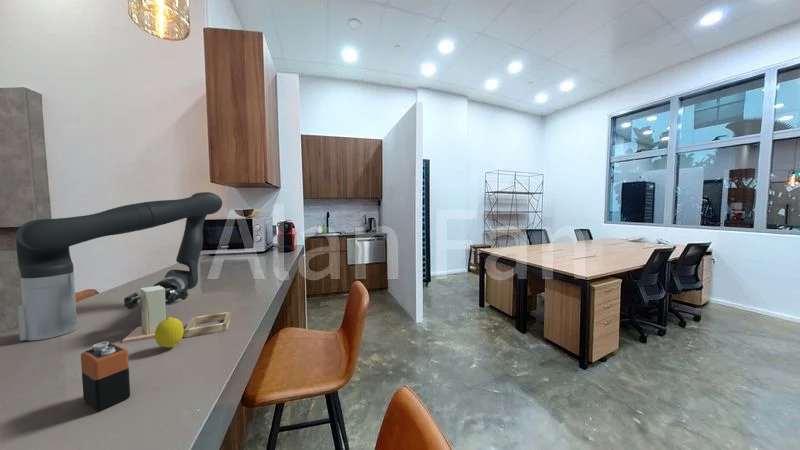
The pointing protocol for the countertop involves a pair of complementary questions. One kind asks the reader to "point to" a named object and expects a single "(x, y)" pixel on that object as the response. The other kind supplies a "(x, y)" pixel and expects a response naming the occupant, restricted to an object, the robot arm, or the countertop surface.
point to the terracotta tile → (138, 335)
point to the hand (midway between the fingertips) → (150, 303)
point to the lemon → (169, 332)
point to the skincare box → (152, 307)
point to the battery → (105, 375)
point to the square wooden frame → (192, 331)
